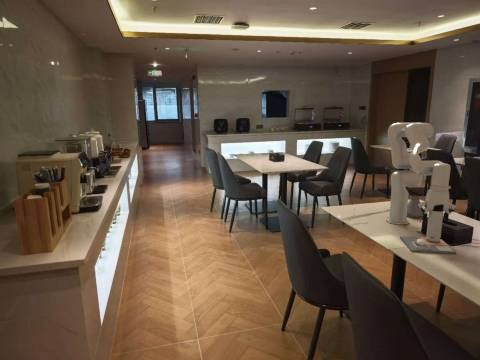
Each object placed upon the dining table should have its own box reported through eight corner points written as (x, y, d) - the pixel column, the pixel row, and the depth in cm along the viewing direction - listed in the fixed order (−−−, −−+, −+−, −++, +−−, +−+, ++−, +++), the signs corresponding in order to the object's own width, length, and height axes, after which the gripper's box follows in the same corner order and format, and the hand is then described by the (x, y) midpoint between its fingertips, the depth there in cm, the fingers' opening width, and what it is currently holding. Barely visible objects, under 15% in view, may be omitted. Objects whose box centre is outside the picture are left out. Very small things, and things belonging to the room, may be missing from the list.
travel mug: (433, 244, 169) (437, 205, 165) (423, 239, 175) (427, 202, 171) (443, 242, 171) (447, 204, 167) (432, 238, 177) (436, 201, 173)
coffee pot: (426, 218, 212) (429, 195, 209) (408, 218, 212) (410, 195, 209) (411, 208, 233) (413, 187, 229) (394, 208, 233) (396, 187, 230)
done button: (415, 242, 168) (415, 238, 168) (423, 242, 167) (424, 239, 167) (418, 245, 164) (418, 241, 164) (426, 246, 164) (427, 242, 163)
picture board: (399, 238, 181) (400, 233, 180) (439, 239, 178) (440, 235, 177) (411, 251, 163) (411, 247, 163) (456, 253, 160) (456, 248, 160)
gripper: (454, 186, 170) (449, 218, 174) (417, 185, 172) (414, 217, 176) (461, 190, 163) (456, 224, 166) (423, 189, 165) (419, 222, 169)
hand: (434, 220), depth 171 cm, fingers open, 9 cm apart
